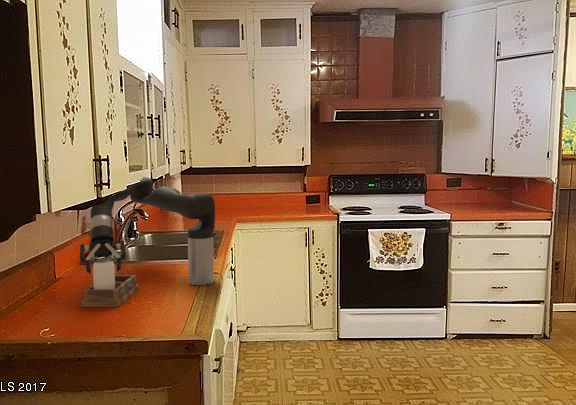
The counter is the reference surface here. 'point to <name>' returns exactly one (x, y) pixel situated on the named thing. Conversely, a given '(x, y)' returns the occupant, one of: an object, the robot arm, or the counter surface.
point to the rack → (111, 293)
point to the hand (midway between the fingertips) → (103, 271)
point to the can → (104, 274)
